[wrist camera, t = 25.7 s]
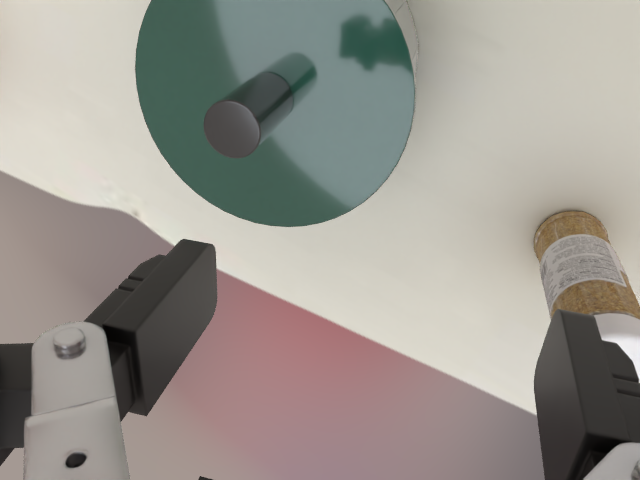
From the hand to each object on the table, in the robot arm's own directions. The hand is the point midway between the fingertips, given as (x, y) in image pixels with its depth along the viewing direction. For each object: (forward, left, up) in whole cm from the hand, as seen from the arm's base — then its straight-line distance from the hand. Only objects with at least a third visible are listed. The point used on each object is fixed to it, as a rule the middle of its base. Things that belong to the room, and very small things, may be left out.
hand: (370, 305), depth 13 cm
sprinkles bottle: (+5, +13, -25) cm, 28 cm away
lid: (+2, -7, -15) cm, 16 cm away
